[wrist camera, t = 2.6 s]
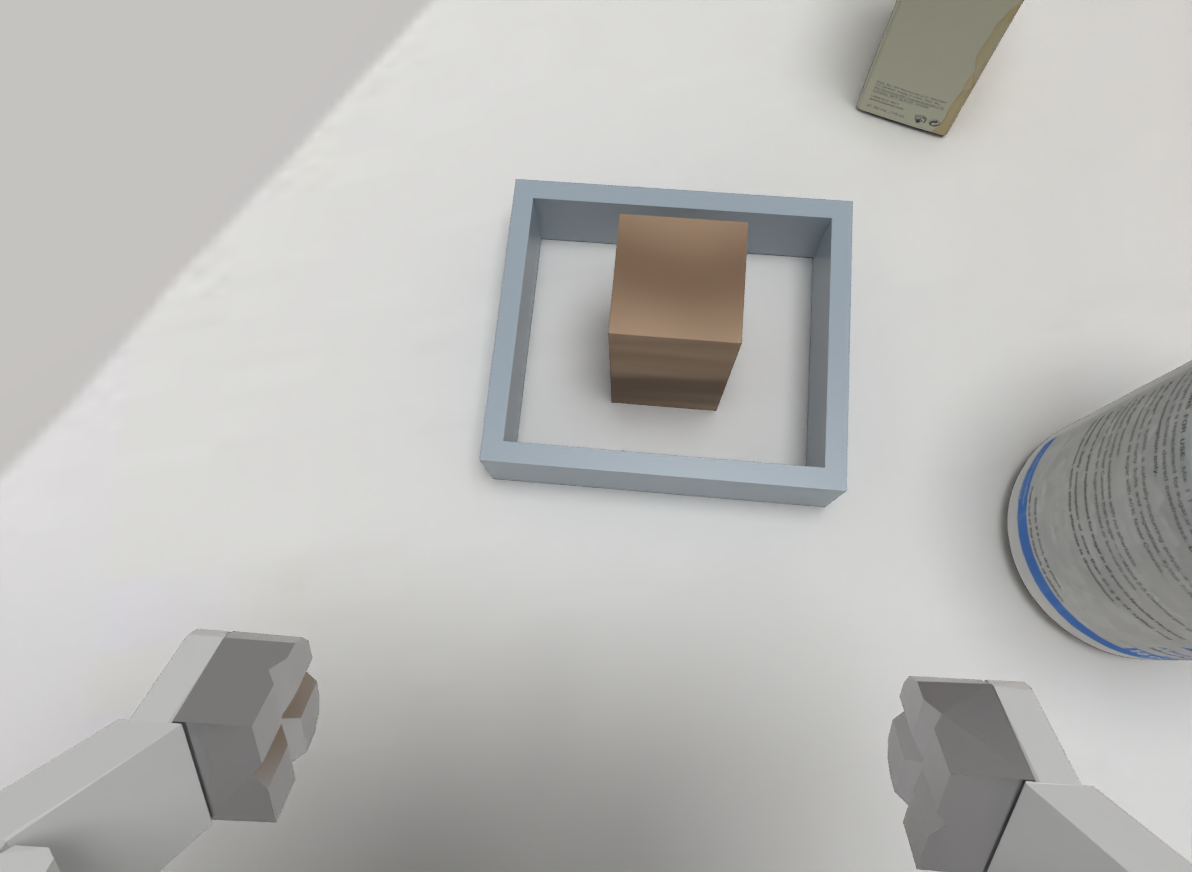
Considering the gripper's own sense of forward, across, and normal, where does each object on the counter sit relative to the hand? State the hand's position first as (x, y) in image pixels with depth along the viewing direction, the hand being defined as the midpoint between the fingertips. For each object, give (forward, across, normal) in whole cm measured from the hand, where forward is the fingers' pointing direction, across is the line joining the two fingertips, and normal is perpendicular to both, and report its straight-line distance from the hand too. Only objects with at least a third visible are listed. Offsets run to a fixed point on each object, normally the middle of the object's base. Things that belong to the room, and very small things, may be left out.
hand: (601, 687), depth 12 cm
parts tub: (+25, -2, +6) cm, 26 cm away
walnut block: (+25, -2, +6) cm, 26 cm away
